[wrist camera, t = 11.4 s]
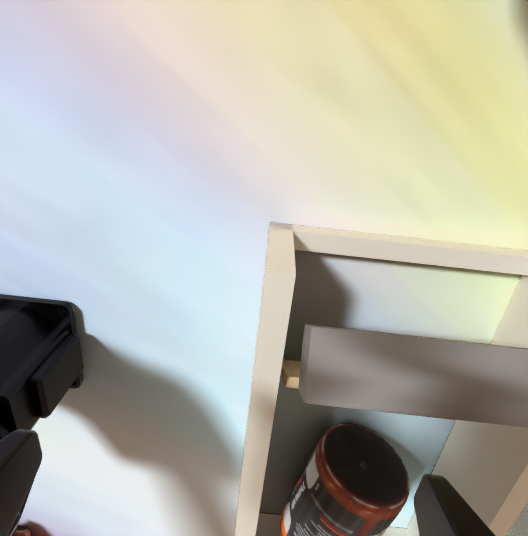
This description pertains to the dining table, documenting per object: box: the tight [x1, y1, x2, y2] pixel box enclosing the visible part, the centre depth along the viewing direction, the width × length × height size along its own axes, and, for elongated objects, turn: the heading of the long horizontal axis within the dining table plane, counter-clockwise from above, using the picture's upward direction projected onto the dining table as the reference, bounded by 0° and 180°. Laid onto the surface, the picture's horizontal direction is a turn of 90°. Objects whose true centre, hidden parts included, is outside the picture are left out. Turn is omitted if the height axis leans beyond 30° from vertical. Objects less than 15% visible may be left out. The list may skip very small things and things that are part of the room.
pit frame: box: [235, 222, 528, 536], centre depth 23 cm, size 15×26×6 cm, turn 174°
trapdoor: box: [281, 324, 528, 428], centre depth 19 cm, size 12×9×3 cm
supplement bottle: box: [280, 424, 409, 536], centre depth 25 cm, size 6×6×11 cm
